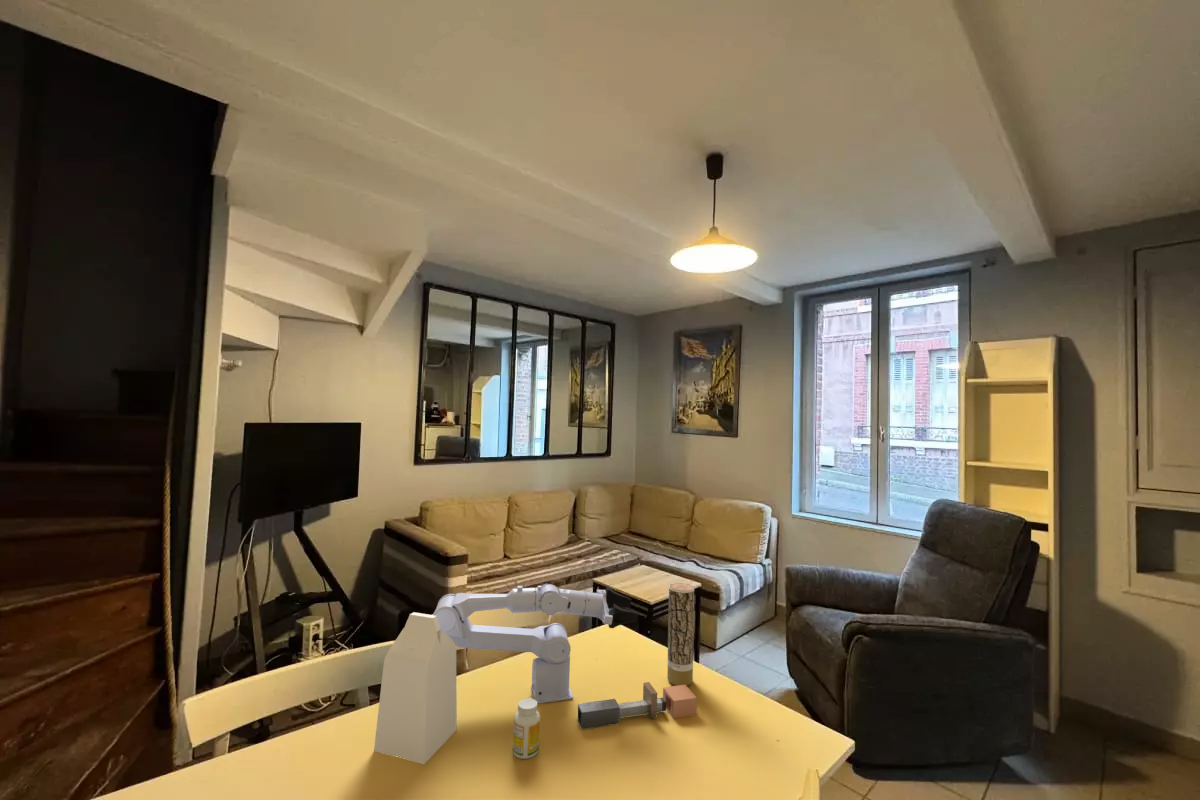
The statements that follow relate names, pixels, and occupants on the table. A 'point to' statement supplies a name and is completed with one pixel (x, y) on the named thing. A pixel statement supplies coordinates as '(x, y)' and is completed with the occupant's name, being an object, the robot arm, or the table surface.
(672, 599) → the brown cylindrical piece
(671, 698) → the socket block
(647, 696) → the tube
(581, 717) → the sleeve
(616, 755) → the table surface
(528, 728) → the supplement bottle
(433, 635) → the milk
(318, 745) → the table surface
